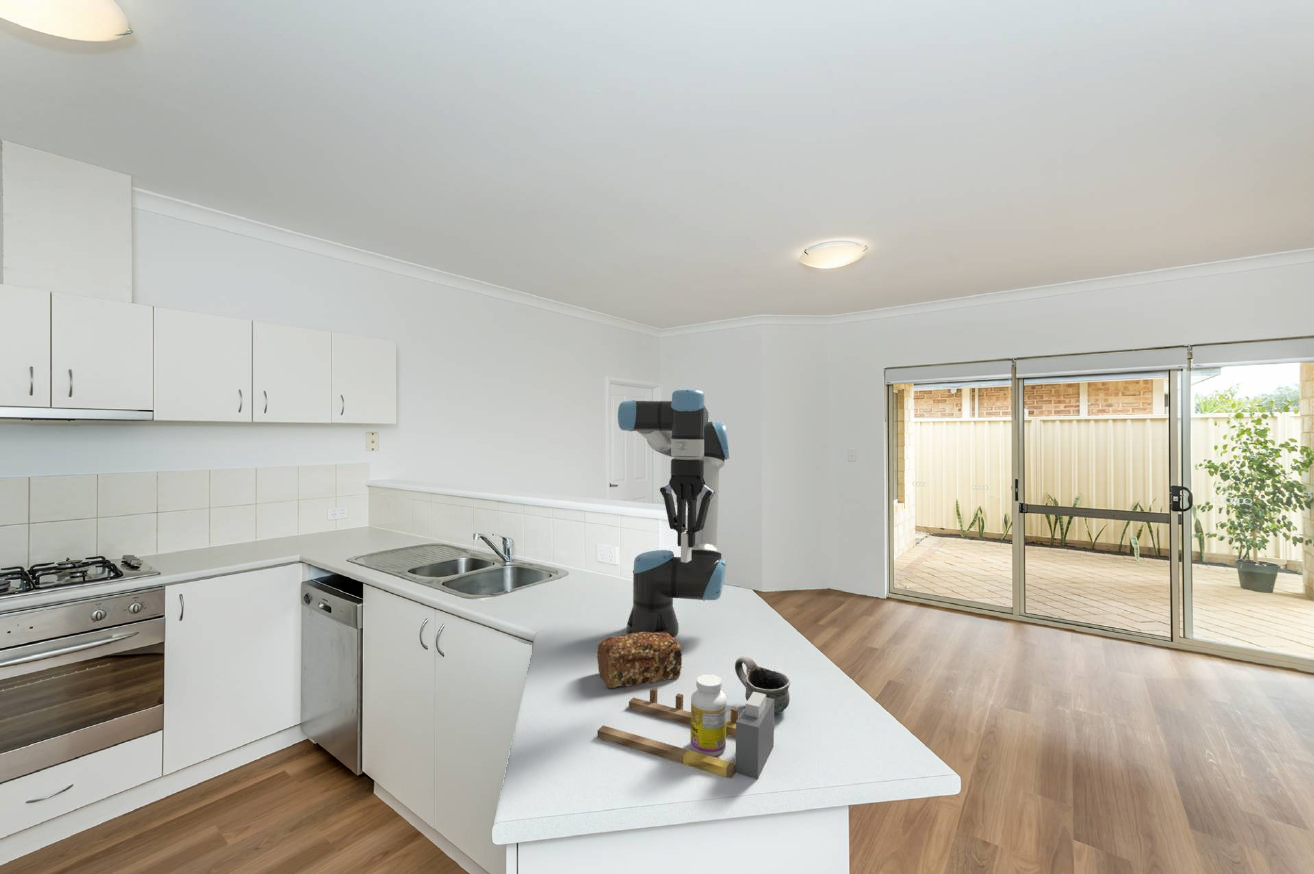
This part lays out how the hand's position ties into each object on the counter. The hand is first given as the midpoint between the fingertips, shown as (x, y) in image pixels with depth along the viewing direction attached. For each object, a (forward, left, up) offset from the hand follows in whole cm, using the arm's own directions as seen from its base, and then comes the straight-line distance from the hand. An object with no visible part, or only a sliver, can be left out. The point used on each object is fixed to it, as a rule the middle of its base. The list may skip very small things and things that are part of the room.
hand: (686, 560), depth 126 cm
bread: (-12, +1, -30) cm, 32 cm away
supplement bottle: (+13, -20, -30) cm, 38 cm away
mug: (+18, -1, -30) cm, 35 cm away
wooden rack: (+7, -19, -29) cm, 36 cm away
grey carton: (+22, -19, -29) cm, 41 cm away
